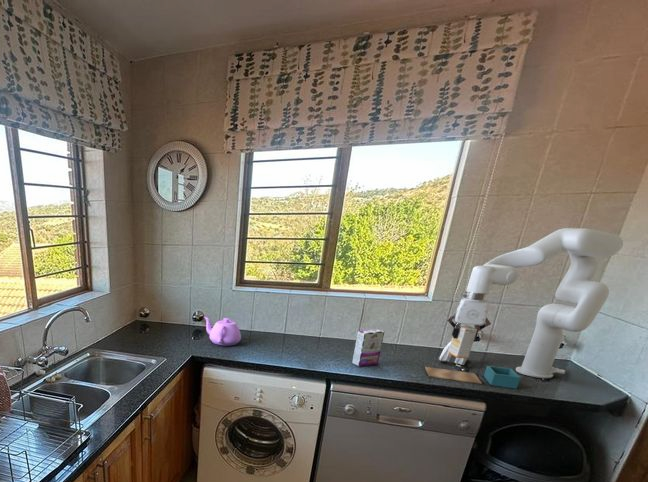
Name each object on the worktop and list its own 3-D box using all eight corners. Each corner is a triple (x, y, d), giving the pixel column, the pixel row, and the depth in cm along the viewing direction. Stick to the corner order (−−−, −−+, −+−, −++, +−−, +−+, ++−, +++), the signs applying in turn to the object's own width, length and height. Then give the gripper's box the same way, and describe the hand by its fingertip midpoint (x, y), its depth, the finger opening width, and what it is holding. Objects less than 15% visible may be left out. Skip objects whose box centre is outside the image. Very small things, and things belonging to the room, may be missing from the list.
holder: (507, 379, 175) (511, 368, 174) (516, 388, 166) (520, 377, 164) (483, 376, 179) (487, 365, 177) (490, 385, 169) (494, 374, 167)
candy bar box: (369, 361, 196) (377, 328, 190) (377, 364, 192) (385, 331, 186) (350, 363, 193) (357, 330, 187) (358, 366, 189) (365, 333, 183)
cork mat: (474, 374, 181) (474, 373, 181) (481, 384, 170) (482, 383, 170) (424, 367, 188) (425, 366, 188) (428, 376, 178) (429, 375, 177)
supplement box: (468, 359, 171) (478, 329, 167) (456, 358, 172) (465, 328, 168) (459, 353, 179) (468, 324, 174) (447, 352, 180) (455, 323, 175)
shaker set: (438, 363, 194) (444, 341, 190) (435, 360, 198) (441, 338, 194) (467, 365, 191) (474, 343, 187) (463, 363, 195) (470, 341, 191)
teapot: (208, 335, 238) (209, 312, 233) (244, 339, 229) (246, 316, 224) (195, 344, 220) (196, 320, 215) (234, 350, 211) (237, 324, 206)
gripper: (452, 296, 167) (440, 338, 173) (504, 300, 160) (490, 343, 166) (449, 293, 173) (437, 334, 180) (499, 296, 166) (485, 339, 173)
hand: (463, 338), depth 173 cm, fingers closed on supplement box, 5 cm apart
